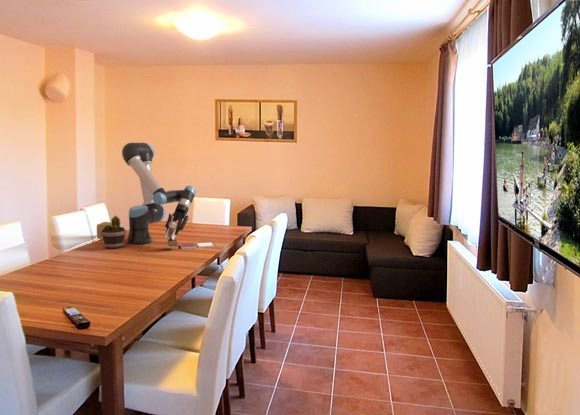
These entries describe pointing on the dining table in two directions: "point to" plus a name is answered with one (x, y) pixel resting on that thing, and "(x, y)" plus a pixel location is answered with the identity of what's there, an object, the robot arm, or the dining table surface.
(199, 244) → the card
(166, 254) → the dining table surface
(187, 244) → the ink pad
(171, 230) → the stamp
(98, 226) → the cheese
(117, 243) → the flowerpot
